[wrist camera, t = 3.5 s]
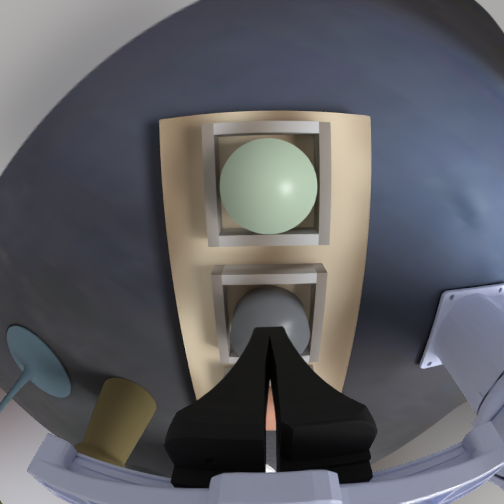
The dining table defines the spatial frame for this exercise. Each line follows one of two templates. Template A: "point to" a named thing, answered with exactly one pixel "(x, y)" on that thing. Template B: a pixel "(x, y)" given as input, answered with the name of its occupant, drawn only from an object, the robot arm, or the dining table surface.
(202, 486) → the robot arm
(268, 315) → the charcoal button
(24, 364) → the cocktail glass
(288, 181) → the sage button
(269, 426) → the terracotta button
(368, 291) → the dining table surface
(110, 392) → the cork
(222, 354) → the button board
